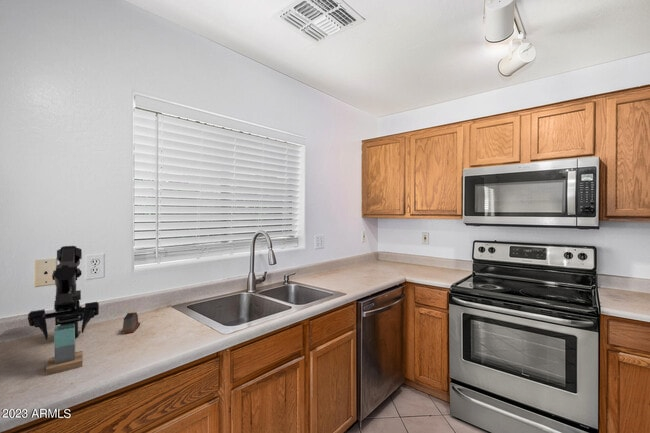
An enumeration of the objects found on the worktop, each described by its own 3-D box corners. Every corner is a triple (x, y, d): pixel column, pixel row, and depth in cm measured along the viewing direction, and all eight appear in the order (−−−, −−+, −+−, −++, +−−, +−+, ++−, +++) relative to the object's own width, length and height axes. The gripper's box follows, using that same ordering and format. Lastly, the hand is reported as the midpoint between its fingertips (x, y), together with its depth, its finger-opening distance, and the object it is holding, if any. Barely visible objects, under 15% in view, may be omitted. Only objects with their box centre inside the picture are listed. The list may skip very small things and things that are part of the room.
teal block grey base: (56, 358, 103) (55, 326, 103) (75, 354, 106) (74, 323, 106) (54, 364, 99) (54, 331, 99) (74, 360, 103) (74, 327, 102)
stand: (48, 364, 104) (48, 358, 104) (82, 356, 109) (82, 350, 109) (46, 375, 97) (45, 369, 97) (82, 366, 102) (82, 360, 102)
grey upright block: (140, 324, 139) (140, 308, 139) (133, 333, 130) (133, 315, 130) (129, 325, 138) (129, 309, 138) (122, 334, 129) (121, 316, 129)
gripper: (28, 287, 101) (23, 331, 93) (98, 279, 113) (99, 318, 104) (31, 305, 107) (27, 347, 99) (97, 295, 119) (99, 333, 111)
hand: (65, 335), depth 103 cm, fingers open, 9 cm apart
